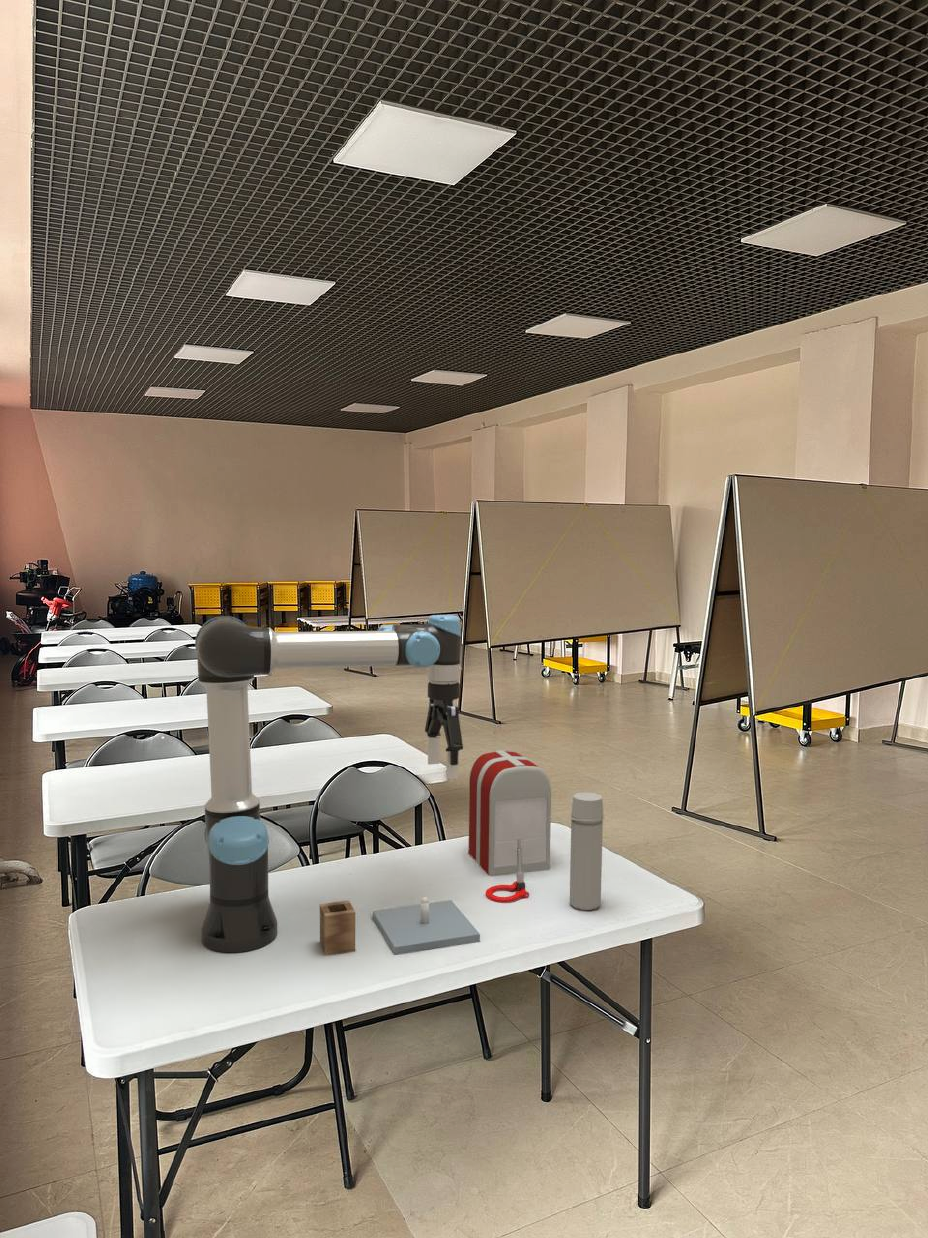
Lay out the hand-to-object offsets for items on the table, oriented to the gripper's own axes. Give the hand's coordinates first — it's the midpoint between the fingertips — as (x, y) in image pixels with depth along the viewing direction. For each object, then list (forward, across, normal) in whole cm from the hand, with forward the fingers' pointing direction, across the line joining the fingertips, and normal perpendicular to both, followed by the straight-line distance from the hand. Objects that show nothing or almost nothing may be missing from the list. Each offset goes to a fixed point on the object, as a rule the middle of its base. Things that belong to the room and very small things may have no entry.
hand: (442, 771), depth 206 cm
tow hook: (+28, -11, -12) cm, 32 cm away
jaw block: (+28, -23, +30) cm, 47 cm away
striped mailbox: (+28, +9, -21) cm, 36 cm away
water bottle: (+28, -21, -27) cm, 44 cm away
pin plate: (+28, -21, +11) cm, 37 cm away
